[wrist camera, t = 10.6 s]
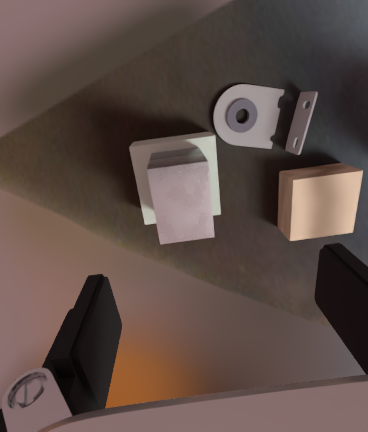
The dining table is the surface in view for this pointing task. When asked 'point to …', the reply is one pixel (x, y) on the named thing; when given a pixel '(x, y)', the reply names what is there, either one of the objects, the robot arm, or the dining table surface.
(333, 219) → the stand
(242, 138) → the bracket
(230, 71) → the dining table surface
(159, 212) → the block
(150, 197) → the stand
